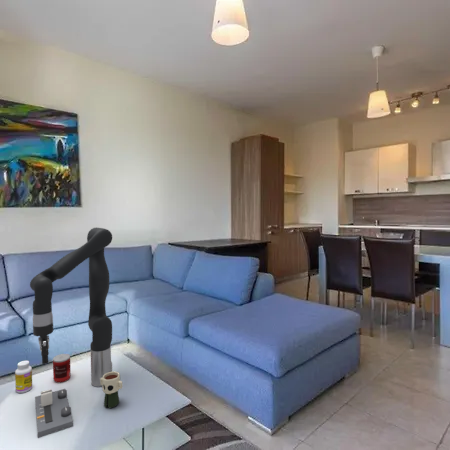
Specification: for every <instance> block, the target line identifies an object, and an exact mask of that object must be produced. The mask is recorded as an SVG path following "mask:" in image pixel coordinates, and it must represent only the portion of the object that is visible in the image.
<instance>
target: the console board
mask: <svg viewBox="0 0 450 450" xmlns="http://www.w3.org/2000/svg"><path fill="white" fill-rule="evenodd" d="M67 391H68V390H66V388H63V389H59V390H54V391H52V404H50V405H47V406H43V407H42V406H41V394H40V395H37V396H35V397H34V401H35V404H34V405H35V415H36V417H35V418H36V428H37V429H36V430H37V438H41V437H43V436H48V435H50V434H53V433H57V432H59V431H63V430H65V429H68V428H72V427H74V419H73V415H72V407H71V406H70V402H69V398H68V392H67Z"/></svg>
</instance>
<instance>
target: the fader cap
mask: <svg viewBox="0 0 450 450" xmlns="http://www.w3.org/2000/svg"><path fill="white" fill-rule="evenodd" d="M52 392H53V390H52V388H51V389H47V390H43V391H40V395H41V406H42V407H43V406H47V405H50V404H52Z"/></svg>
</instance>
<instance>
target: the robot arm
mask: <svg viewBox="0 0 450 450" xmlns="http://www.w3.org/2000/svg"><path fill="white" fill-rule="evenodd" d="M112 240H113V234H112V232H111V230H109V229H107V228H103V227H92V228H90V230H89V231H88V233H87V236H86V242H85V243H84V244H83V245H81V246H79V248H77V249H75V250H73V251H71V252H69V253H67V254H66V255H64V256H63V257H61V258H60V259H59V260H57V261H56V262H55V263H53V264H52V265H51V266H50V267H48V268H46V269H44V270H42V271H41V272H39V273H37V274H36V275H35V276H33V278H32V279H31V280H30V283H29V287H30V289H31V290H32V291H33V292H34V300H33V302H32V334H33V336H35V337H38V345H39V351H40V352H41V353H40V355H41V363H42V365H45V364H48V363H49V354H50V351H49V349H50V336H49V335H51V334H52V333H54V316H53V314H54V313H53V309H52V308H53V305H52V299H53V292H54V289H53V287H54V285H53V283H54V282H55V281H57V280H61V279H63V278H65V277H66V276H67V275H69V274H70V272H72V271H73V270H74V269H76V268H77V267H78V266H80V265H81V263H84V261H86V260H87V259H88V293H89V313H88V324H87V325H88V328H89V329H90V331H91V334H92V340H91V342H90V373H91V374H90V376H91V377H90V381H91V382H90V383H91V385H92V386H94V387H97V388H98V387H102V385H101V384H100V379H101V378H103V375H104V374H106V373H108V372H113V362H112V341H113V323H112V319H111V318H110V317H108V316H107V312H106V311H107V309H106V301H107V297H108V295H109V289H110V271H109V268H108V265H107V262H106V258H105V257H106V256H105V248H106V247H108V246H110V244H111V243H112Z"/></svg>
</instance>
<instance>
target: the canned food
mask: <svg viewBox="0 0 450 450" xmlns="http://www.w3.org/2000/svg"><path fill="white" fill-rule="evenodd" d="M52 371H53V373H52V374H53V375H52V376H53V381H54V383H59V384H61V383H64V382H67V381H68V380H70V378H71V374H72V373H71V372H72V371H71V355H70V354H68V353H60V354H57V355H55V356H54V357H53V358H52Z"/></svg>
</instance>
